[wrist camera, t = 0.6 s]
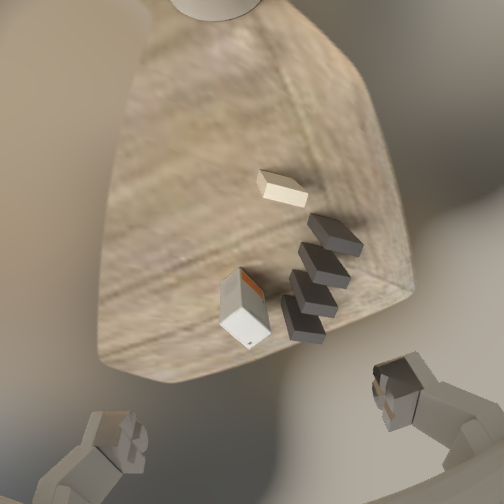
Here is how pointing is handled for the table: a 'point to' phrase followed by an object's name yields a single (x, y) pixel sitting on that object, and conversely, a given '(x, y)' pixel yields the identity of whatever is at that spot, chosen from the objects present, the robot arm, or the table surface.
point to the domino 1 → (281, 189)
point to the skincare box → (243, 309)
